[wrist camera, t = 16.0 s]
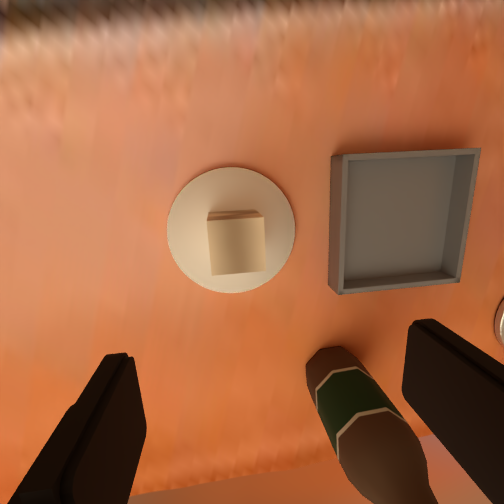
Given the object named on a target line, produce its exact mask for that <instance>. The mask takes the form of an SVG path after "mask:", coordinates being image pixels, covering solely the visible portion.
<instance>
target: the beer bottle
mask: <svg viewBox="0 0 504 504" xmlns="http://www.w3.org/2000/svg"><path fill="white" fill-rule="evenodd" d="M306 377H307V386H308V389H309V392H310V394H311V397H312V399H313V401H314V404H315V406H316V408H317V411H318V413H319V416H320V418H321V420H322V423H323V425H324V427H325V430H326V432H327V434H328V437H329V439H330V441H331V444H332V446H333V448H334V451H335V453H336V455H337V458H338V460H339V462H340V464H341V466H342V468H343V470H344V472H345V474H346V476H347V478H348V480H349V481H350V482H351V483H352V484H353V485H354V486H355V487H356V489H357V490H358V491H359V492H360V493H361V494H362V495H363V496H364V497H365V498H367V499H368V500H370V501H371V502H372V503H374V504H438V502H437V500H436V498H435V496H434V494H433V492H432V490H431V488H430V486H429V480H428V470H427V461H426V458H425V455H424V452H423V449H422V446H421V444H420V441H419V439H418V438H417V436H416V435H415V433H414V432H413V430H412V429H411V427H410V426H409V424H408V423H407V422H406V420H405V419H404V418H403V416H402V415H401V414H400V412H399V411H398V410H397V409H396V407H395V406H394V405H393V403H392V402H391V401H390V400H389V398H388V397H387V396H386V394H385V393H384V392H383V390H382V389H381V388H380V387H379V385H378V384H377V383H376V381H375V380H374V379H373V377H372V376H371V375H370V374H369V372H368V371H367V370H366V368H365V367H364V366H363V365H362V363H361V362H360V361H359V360H358V359H357V358H356V357H355V356H353V355H352V354H351V353H349V352H348V351H346V350H345V349H344V348H342V347H340V346H338V347H332V348H326V349H321V350H319V351H318V352H317V353H316V354H315V355H314V356H313V358H312V359H311V360H310V361H309V362H308V363H307V364H306Z"/></svg>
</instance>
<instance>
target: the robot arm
mask: <svg viewBox="0 0 504 504" xmlns="http://www.w3.org/2000/svg"><path fill="white" fill-rule="evenodd" d="M495 334H496V337H497V339H498V341H499V343H500V344H501V345H502V346H503V347H504V299H503V301H502V303H501V304H500V306H499V309H498V311H497V314H496V318H495ZM402 393H403V396H404V398H405V400H406V401H407V402H408V404H409V405H410V406H411V407H412V408H413V409H414V411H415V412H416V413H417V414H418V415H419V417H420V418H421V419H422V420H423V421H424V423H425V424H426V425H427V426H428V427H429V429H430V430H431V431H432V432H433V433H434V434H435V436H436V437H437V438H438V439H439V440H440V442H441V443H442V444H443V445H444V446H445V447H446V449H447V450H448V451H449V452H450V454H451V455H452V456H453V457H454V458H455V460H456V461H457V462H458V463H459V464H460V465H461V467H462V468H463V469H464V470H465V471H466V473H467V474H468V475H469V476H470V477H471V479H472V480H473V481H474V482H475V483H476V484H477V486H478V487H479V488H480V489H481V490H482V492H483V493H484V494H485V495H486V496H487V498H488V499H489V500H490V501H491V502H492V503H493V504H504V365H503V364H501V363H500V362H498V361H497V360H495V359H494V358H492V357H491V356H489V355H488V354H486V353H485V352H483V351H482V350H480V349H479V348H477V347H476V346H474V345H472V344H471V343H469V342H468V341H466V340H465V339H463V338H462V337H460V336H459V335H457V334H456V333H454V332H453V331H451V330H450V329H448V328H447V327H445V326H444V325H442V324H441V323H439V322H438V321H436V320H434V319H421V320H415V321H414V322H413V323H412V325H410V326H409V329H408V337H407V346H406V355H405V364H404V372H403V381H402ZM146 430H147V426H146V419H145V414H144V409H143V403H142V398H141V393H140V387H139V382H138V377H137V372H136V366H135V361H134V358H133V357H128V355H127V353H117V354H108V355H106V356H105V357H104V358H103V360H102V361H101V363H100V365H99V366H98V368H97V369H96V371H95V373H94V374H93V376H92V377H91V379H90V381H89V382H88V384H87V385H86V387H85V389H84V390H83V392H82V393H81V395H80V397H79V398H78V400H77V401H76V403H75V404H74V405H72V406H70V408H69V409H68V410H67V411H66V413H65V415H64V416H63V418H62V419H61V421H60V422H59V424H58V425H57V427H56V429H55V430H54V432H53V433H52V435H51V436H50V438H49V440H48V441H47V443H46V444H45V446H44V447H43V449H42V450H41V452H40V454H39V455H38V457H37V458H36V460H35V461H34V463H33V464H32V466H31V468H30V469H29V471H28V472H27V474H26V475H25V477H24V478H23V480H22V482H21V483H20V485H19V486H18V488H17V489H16V491H15V493H14V494H13V496H12V497H11V499H10V500H9V502H8V503H7V504H127V503H128V499H129V496H130V492H131V488H132V485H133V481H134V477H135V474H136V470H137V466H138V463H139V459H140V456H141V452H142V448H143V445H144V441H145V437H146Z"/></svg>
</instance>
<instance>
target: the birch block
mask: <svg viewBox="0 0 504 504" xmlns="http://www.w3.org/2000/svg"><path fill="white" fill-rule="evenodd" d="M207 232H208V243H209V253H210V264H211V275H212V276H215V275H226V274H238V273H249V272H261V271H266V255H265V228H264V217H263V216H262V215H261V214H260V213H259V212H258V211H256V210H255V209H252V210H236V211H220V212H208V217H207Z"/></svg>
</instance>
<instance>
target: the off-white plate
mask: <svg viewBox="0 0 504 504" xmlns="http://www.w3.org/2000/svg"><path fill="white" fill-rule="evenodd" d="M252 209H255V210H256V211H258V212H259V213H260V214H261V215H262V216H263V217H264V228H265V255H266V271H261V272H249V273H238V274H226V275H215V276H212V275H211V264H210V253H209V243H208V232H207V217H208V212H220V211H236V210H252ZM294 238H295V221H294V216H293V212H292V209H291V206H290V204H289V202H288V200H287V198H286V197H285V195H284V194H283V192H282V191H281V190H280V189H279V188H278V187H277V186H276V185H275V184H274V183H273V182H272V181H271V180H270V179H268V178H266V177H265V176H263V175H261V174H259V173H257V172H255V171H252V170H249V169H245V168H238V167H225V168H218V169H214V170H210V171H208V172H206V173H203V174H201V175H199V176H198V177H196V178H194V179H193V180H192V181H191V182H189V183H188V184H187V185H186V186H185V187H184V188H183V189H182V190H181V192H180V193H179V194H178V196H177V197H176V199H175V201H174V203H173V205H172V207H171V210H170V213H169V217H168V222H167V239H168V244H169V248H170V251H171V254H172V256H173V258H174V260H175V262H176V263H177V265H178V266H179V268H180V269H181V270H182V271H183V272H184V273H185V275H186V276H188V277H189V278H190V279H191V280H192V281H194V282H195V283H197V284H199V285H200V286H203V287H205V288H207V289H210V290H213V291H217V292H223V293H239V292H245V291H248V290H252V289H254V288H257V287H259V286H261V285H263V284H264V283H266V282H268V281H269V280H270V279H272V278H273V277H274V276H275V275H276V274H277V273H278V272H279V271H280V270H281V268H282V267H283V266H284V264H285V263H286V261H287V260H288V257H289V255H290V253H291V250H292V247H293V243H294Z"/></svg>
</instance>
